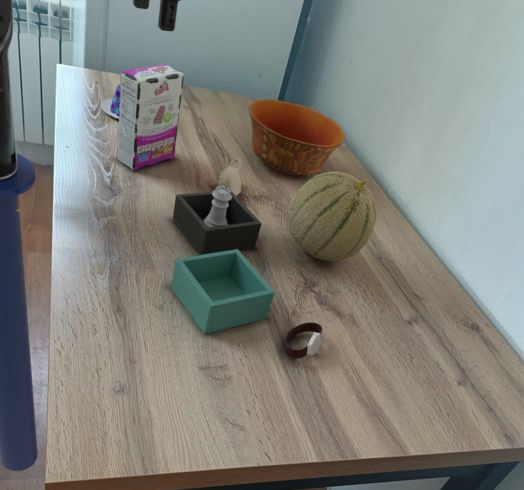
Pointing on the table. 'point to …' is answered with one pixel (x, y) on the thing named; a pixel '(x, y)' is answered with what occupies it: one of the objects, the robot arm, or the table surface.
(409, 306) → the table surface
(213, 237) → the charcoal bin
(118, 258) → the table surface
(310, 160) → the bowl
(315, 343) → the watch
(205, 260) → the sea-green bin
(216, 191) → the rook chess piece
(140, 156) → the candy bar box
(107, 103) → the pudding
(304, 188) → the cantaloupe
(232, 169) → the decorative ornament
